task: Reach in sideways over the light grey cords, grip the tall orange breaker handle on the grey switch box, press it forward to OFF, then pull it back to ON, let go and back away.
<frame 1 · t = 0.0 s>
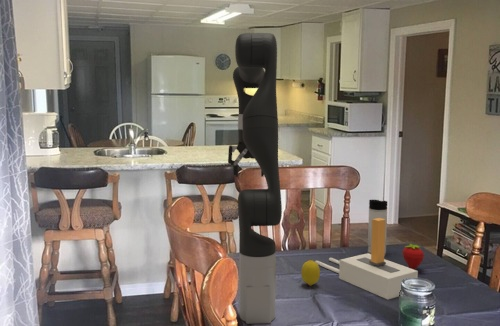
hand: (249, 176, 178), 29 cm above the table, tool pointing down, fingers open, 8 cm apart
strawberry: (412, 270, 173), on the table
travel mug: (376, 255, 189), on the table
lemon: (310, 286, 159), on the table
cords: (336, 266, 175), on the table
switch box: (376, 284, 160), on the table
breaker handle: (378, 241, 158), point 13 cm above the table, slide at 0.0 cm
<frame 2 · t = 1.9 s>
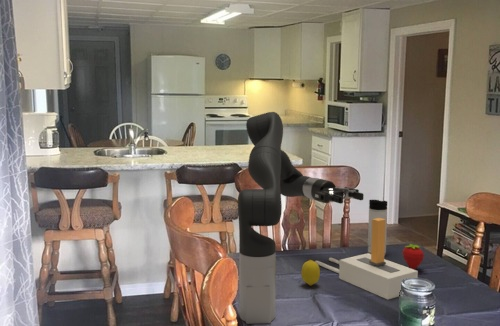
hand: (352, 198, 166), 24 cm above the table, tool horizontal, fingers open, 8 cm apart
nothing on the table moved.
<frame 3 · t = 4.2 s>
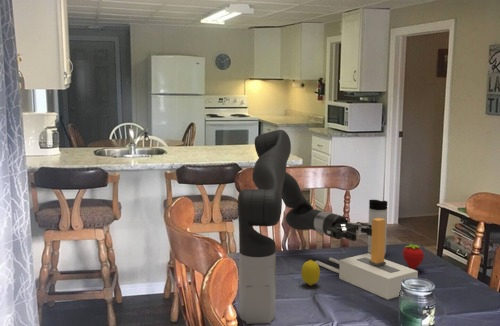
hand: (366, 235, 162), 14 cm above the table, tool horizontal, fingers open, 8 cm apart
nothing on the table moved.
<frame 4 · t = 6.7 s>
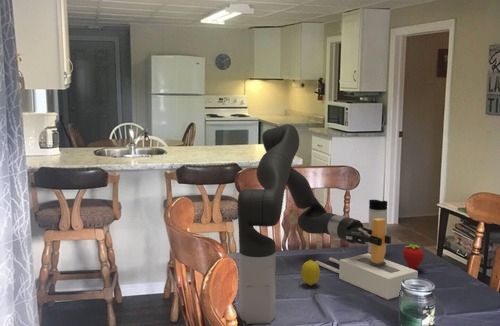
hand: (385, 241, 156), 14 cm above the table, tool horizontal, fingers closed on breaker handle, 3 cm apart
breaker handle: (378, 241, 158), point 13 cm above the table, slide at 0.0 cm, touching gripper
everything else where it was.
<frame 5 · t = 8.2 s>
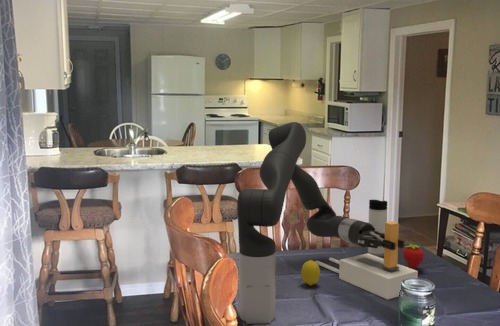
hand: (399, 245, 151), 14 cm above the table, tool horizontal, fingers closed on breaker handle, 3 cm apart
breaker handle: (391, 245, 154), point 13 cm above the table, slide at -5.1 cm, touching gripper
everything else where it was.
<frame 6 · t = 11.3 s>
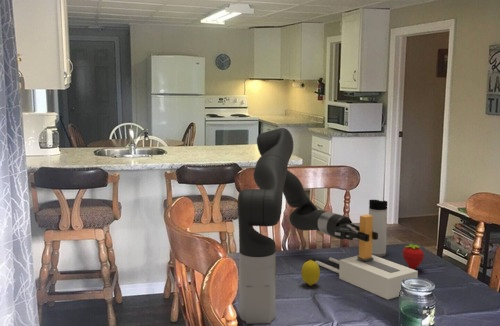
hand: (372, 237, 160), 14 cm above the table, tool horizontal, fingers closed on breaker handle, 3 cm apart
breaker handle: (365, 237, 162), point 13 cm above the table, slide at 5.1 cm, touching gripper
everything else where it was.
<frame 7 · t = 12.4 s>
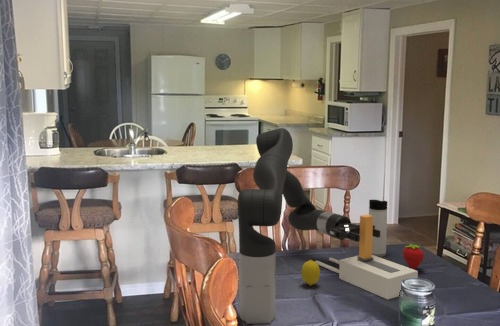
hand: (369, 236, 161), 14 cm above the table, tool horizontal, fingers open, 8 cm apart
breaker handle: (365, 237, 162), point 13 cm above the table, slide at 5.0 cm
everything else where it was.
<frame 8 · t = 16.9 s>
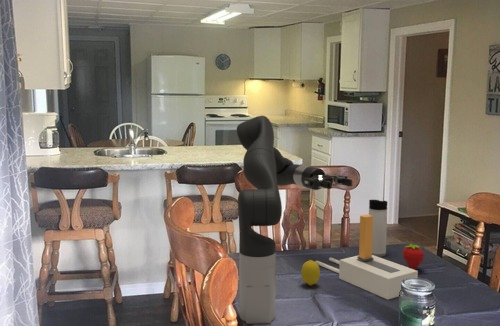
hand: (341, 184, 170), 28 cm above the table, tool horizontal, fingers open, 8 cm apart
nothing on the table moved.
at the end: breaker handle slide at 5.0 cm; the gripper is holding nothing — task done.
